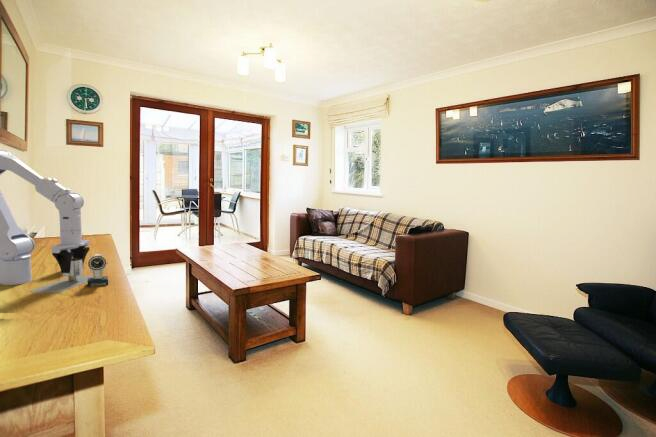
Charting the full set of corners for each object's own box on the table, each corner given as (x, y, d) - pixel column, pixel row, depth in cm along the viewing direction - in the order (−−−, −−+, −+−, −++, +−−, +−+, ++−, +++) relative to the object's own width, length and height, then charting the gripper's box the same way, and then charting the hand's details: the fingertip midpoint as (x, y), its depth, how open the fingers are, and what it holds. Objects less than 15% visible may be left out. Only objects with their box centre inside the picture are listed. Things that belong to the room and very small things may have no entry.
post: (67, 281, 118) (66, 270, 118) (71, 279, 120) (71, 269, 120) (73, 281, 118) (73, 271, 118) (78, 280, 120) (78, 269, 120)
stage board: (27, 295, 107) (27, 291, 106) (76, 278, 126) (75, 275, 126) (57, 296, 106) (57, 292, 106) (101, 279, 126) (101, 276, 126)
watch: (87, 292, 111) (86, 257, 110) (88, 285, 118) (87, 252, 117) (108, 290, 114) (107, 256, 113) (108, 283, 121) (107, 251, 120)
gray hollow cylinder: (58, 276, 117) (58, 260, 116) (70, 272, 122) (70, 257, 121) (75, 276, 116) (74, 261, 116) (86, 272, 122) (85, 258, 121)
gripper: (66, 233, 111) (68, 276, 112) (97, 227, 125) (98, 266, 126) (43, 232, 111) (45, 275, 112) (77, 227, 125) (78, 265, 126)
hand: (72, 270), depth 119 cm, fingers closed on gray hollow cylinder, 5 cm apart
